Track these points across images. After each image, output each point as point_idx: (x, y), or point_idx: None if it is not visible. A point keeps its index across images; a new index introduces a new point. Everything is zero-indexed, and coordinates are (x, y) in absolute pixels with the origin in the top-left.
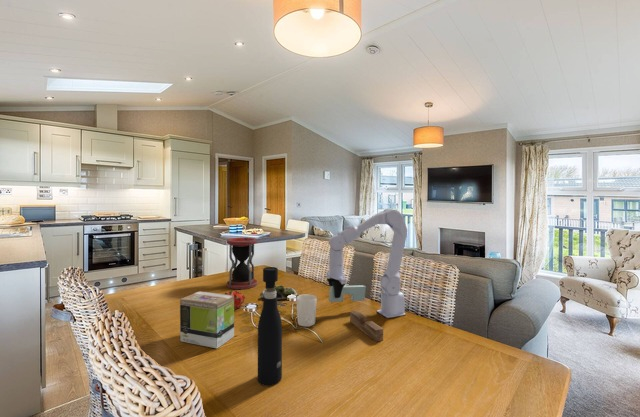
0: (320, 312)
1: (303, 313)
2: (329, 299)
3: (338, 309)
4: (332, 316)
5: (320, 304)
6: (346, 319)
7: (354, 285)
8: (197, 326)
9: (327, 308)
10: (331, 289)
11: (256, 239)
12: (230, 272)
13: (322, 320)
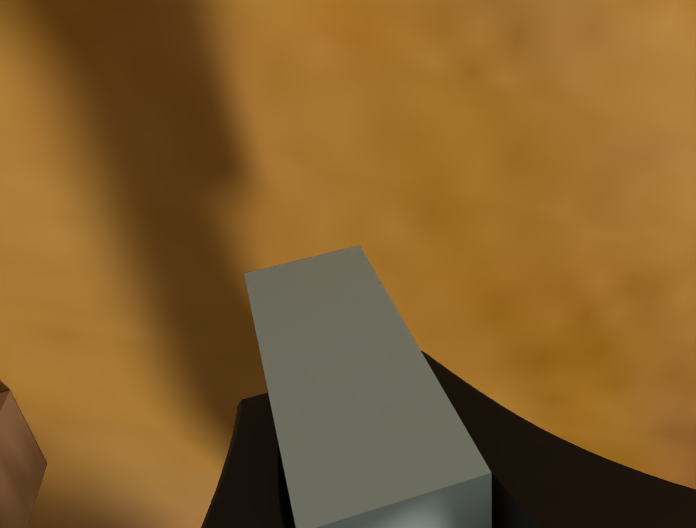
0: (386, 65)
1: None
2: (332, 267)
3: (424, 323)
4: (209, 206)
5: (652, 134)
6: (85, 360)
7: None
8: None
9: (495, 197)
10: (339, 451)
11: None
12: None
13: (62, 17)
